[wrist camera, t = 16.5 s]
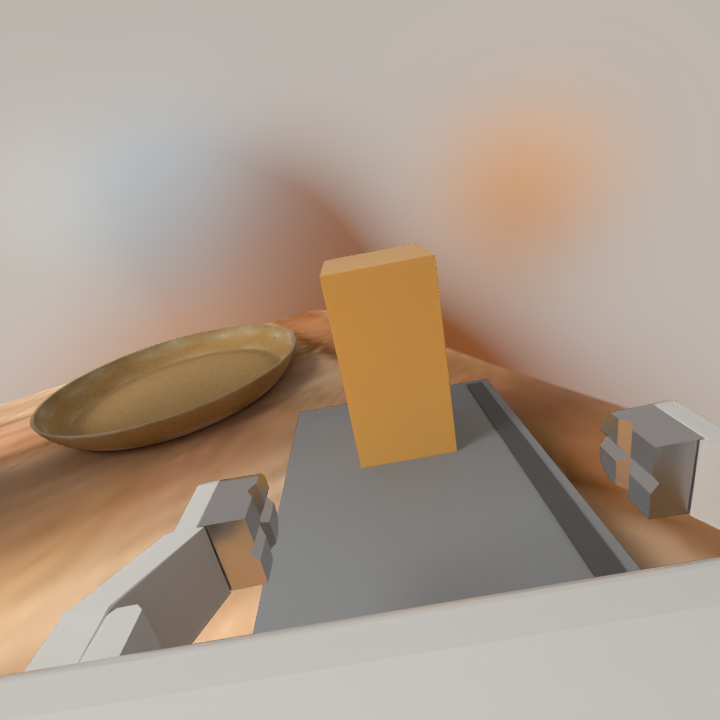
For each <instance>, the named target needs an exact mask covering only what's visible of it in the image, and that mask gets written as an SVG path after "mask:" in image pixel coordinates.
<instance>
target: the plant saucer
mask: <svg viewBox="0 0 720 720" xmlns="http://www.w3.org/2000/svg"><path fill="white" fill-rule="evenodd" d="M295 347H296V336H295V334H294V333H293V332H292V331H290V330H289V329H286V328H283V327H279V326H273V325H242V326H234V327H226V328H220V329H214V330H209V331H204V332H200V333H195V334H191V335H187V336H184V337H180V338H176V339H173V340H169V341H166V342H163V343H160V344H156V345H153V346H150V347H147V348H144V349H141V350H139V351H136V352H134V353H131V354H128V355H126V356H123V357H121V358H118V359H116V360H114V361H112V362H109V363H107V364H105V365H103V366H100V367H98V368H96V369H94V370H92V371H90V372H88V373H86V374H84V375H82V376H80V377H79V378H77V379H75V380H73V381H71V382H70V383H68V384H67V385H65V386H63V387H62V388H60V389H59V390H57V391H56V392H55V393H53V394H52V395H51V396H49V397H48V398H47V399H46V400H44V401H43V402H42V403H41V404H40V405H39V406H38V408H37V409H36V410H35V411H34V413H33V414H32V416H31V419H30V425H31V428H32V429H33V430H34V431H35V432H37V433H38V434H39V435H41V436H42V437H44V438H46V439H47V440H50V441H52V442H54V443H57V444H59V445H63V446H66V447H70V448H76V449H82V450H93V451H116V450H126V449H133V448H139V447H144V446H149V445H153V444H157V443H161V442H165V441H169V440H172V439H175V438H179V437H182V436H185V435H187V434H190V433H193V432H196V431H198V430H201V429H203V428H206V427H208V426H210V425H213V424H215V423H217V422H219V421H222V420H224V419H226V418H227V417H229V416H231V415H233V414H235V413H237V412H239V411H240V410H242V409H244V408H245V407H247V406H249V405H250V404H252V403H253V402H254V401H256V400H257V399H259V398H260V397H261V396H262V395H263V394H265V393H266V392H267V391H268V390H269V389H270V388H271V387H272V386H273V385H274V384H275V383H276V382H277V381H278V380H279V378H280V377H281V376H282V375H283V373H284V372H285V370H286V369H287V367H288V365H289V363H290V361H291V360H292V357H293V354H294V351H295Z"/></svg>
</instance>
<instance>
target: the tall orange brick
mask: <svg viewBox="0 0 720 720" xmlns="http://www.w3.org/2000/svg"><path fill="white" fill-rule="evenodd" d="M320 280H321V285H322V289H323V294H324V299H325V303H326V308H327V313H328V317H329V322H330V327H331V331H332V336H333V341H334V345H335V350H336V354H337V359H338V364H339V368H340V373H341V378H342V382H343V387H344V391H345V396H346V401H347V405H348V410H349V415H350V419H351V424H352V428H353V433H354V438H355V442H356V447H357V452H358V456H359V461H360V465H361V468H366V467H371V466H377V465H383V464H388V463H394V462H399V461H405V460H411V459H416V458H422V457H428V456H433V455H439V454H445V453H450V452H456V451H457V446H456V437H455V428H454V419H453V411H452V402H451V393H450V384H449V375H448V366H447V357H446V348H445V340H444V331H443V322H442V313H441V304H440V295H439V286H438V277H437V268H436V260H435V254H433V253H431V252H430V251H428V250H426V249H424V248H423V247H421V246H419V245H417V244H410V245H405V246H400V247H395V248H389V249H384V250H379V251H374V252H368V253H363V254H358V255H353V256H347V257H342V258H337V259H332V260H327V261H324V264H323V267H322V270H321V274H320Z"/></svg>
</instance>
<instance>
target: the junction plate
mask: <svg viewBox="0 0 720 720" xmlns="http://www.w3.org/2000/svg"><path fill="white" fill-rule="evenodd" d="M450 393H451V402H452V411H453V419H454V428H455V437H456V446H457V451H456V452H450V453H445V454H439V455H433V456H428V457H422V458H416V459H411V460H405V461H399V462H394V463H388V464H383V465H377V466H371V467H366V468H361V465H360V461H359V456H358V452H357V447H356V442H355V438H354V433H353V428H352V424H351V419H350V415H349V410H348V405H347V404H343V405H337V406H332V407H326V408H321V409H315V410H310V411H304V412H299V417H298V421H297V426H296V431H295V436H294V440H293V445H292V450H291V455H290V459H289V464H288V469H287V474H286V478H285V483H284V488H283V493H282V497H281V502H280V507H279V512H278V516H277V517H278V537H277V543H276V544H275V545H274V546H273V547H272V548H271V553H272V556H273V563H272V568H271V573H270V577H269V582H268V583H267V584H263V588H262V593H261V597H260V602H259V607H258V612H257V616H256V621H255V626H254V631H253V634H256V633H262V632H268V631H274V630H280V629H286V628H292V627H299V626H305V625H311V624H317V623H323V622H329V621H335V620H341V619H347V618H353V617H359V616H365V615H371V614H377V613H384V612H390V611H396V610H402V609H408V608H414V607H420V606H426V605H432V604H438V603H444V602H450V601H456V600H462V599H468V598H474V597H480V596H486V595H492V594H498V593H504V592H510V591H516V590H522V589H528V588H534V587H540V586H546V585H552V584H558V583H564V582H570V581H576V580H582V579H588V578H594V577H600V576H606V575H613V574H619V573H625V572H631V571H637V570H641V569H640V568H639V567H638V566H637V564H636V563H635V562H634V561H633V559H632V558H631V557H630V556H629V554H628V553H627V552H626V551H625V549H624V548H623V547H622V546H621V545H620V543H619V542H618V541H617V540H616V538H615V537H614V536H613V535H612V533H611V532H610V531H609V530H608V528H607V527H606V526H605V525H604V523H603V522H602V521H601V520H600V518H599V517H598V516H597V515H596V514H595V512H594V511H593V510H592V509H591V507H590V506H589V505H588V504H587V502H586V501H585V500H584V499H583V497H582V496H581V495H580V494H579V492H578V491H577V490H576V489H575V487H574V486H573V485H572V484H571V483H570V481H569V480H568V479H567V478H566V476H565V475H564V474H563V473H562V471H561V470H560V469H559V468H558V466H557V465H556V464H555V463H554V461H553V460H552V459H551V458H550V456H549V455H548V454H547V453H546V452H545V450H544V449H543V448H542V447H541V445H540V444H539V443H538V442H537V440H536V439H535V438H534V437H533V435H532V434H531V433H530V432H529V430H528V429H527V428H526V427H525V425H524V424H523V423H522V422H521V421H520V419H519V418H518V417H517V416H516V414H515V413H514V412H513V411H512V409H511V408H510V407H509V406H508V404H507V403H506V402H505V401H504V399H503V398H502V397H501V396H500V394H499V393H498V392H497V391H496V390H495V388H494V387H493V386H492V385H491V383H490V382H489V381H488V380H487V379H482V380H476V381H471V382H465V383H460V384H454V385H450Z"/></svg>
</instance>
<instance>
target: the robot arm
mask: <svg viewBox="0 0 720 720" xmlns="http://www.w3.org/2000/svg"><path fill="white" fill-rule="evenodd" d="M600 430H601V431H602V432H603V433H604V434H605V435H606V436H607V437H606V438H605V439H604V441H603V442H602V443H601V445H600V459H601V463H602V466H603V469H604V471H605V472H606V474H607V476H608V477H609V478H610V480H611V481H612V482H613V483H614V484H615V485H617V486H620V487H622V488H624V489H627V490H628V498H629V499H630V501H631V502H632V503H633V504H634V505H635V506H636V507H637V508H638V509H639V510H640V511H641V512H642V513H643V514H644V515H645V516H646V517H647V518H648V519H653V518H660V517H667V516H674V515H681V514H688V513H690V516H692V517H694V518H696V519H698V520H700V521H702V522H704V523H707V524H709V525H711V526H713V527H715V528H717V529H719V530H720V427H719V426H717V425H716V424H714V423H712V422H711V421H709V420H707V419H705V418H704V417H702V416H700V415H699V414H697V413H695V412H693V411H692V410H690V409H689V408H687V407H685V406H684V405H682V404H680V403H679V402H677V401H672V400H667V401H663V402H658V403H653V404H648V405H645V406H640V407H635V408H629V409H624V410H619V411H614V412H609V413H604V414H603V416H602V418H601V427H600ZM268 490H269V486H268V484H267V481H266V478H265V476H264V475H262V474H256V475H250V476H243V477H237V478H231V479H224V480H217V481H212V482H207V483H202V484H200V485H198V487H197V488H196V490H195V492H194V494H193V496H192V498H191V500H190V502H189V504H188V505H187V507H186V509H185V511H184V513H183V515H182V517H181V519H180V521H179V523H178V525H177V526H176V528H175V530H174V532H170V533H167V534H165V535H164V536H163V537H161V538H160V539H159V540H158V541H156V542H155V543H154V544H153V545H151V546H150V547H149V548H148V549H146V550H145V551H144V552H142V553H141V554H140V555H139V556H137V557H136V558H135V559H134V560H132V561H131V562H130V563H128V564H127V565H126V566H125V567H123V568H122V569H121V570H120V571H118V572H117V573H116V574H114V575H113V576H112V577H111V578H109V579H108V580H107V581H106V582H104V583H103V584H102V585H100V586H99V587H98V588H97V589H95V590H94V591H93V592H92V593H90V594H89V595H88V596H86V597H85V598H84V599H83V600H81V601H80V602H79V603H78V604H76V605H75V606H74V607H73V608H71V609H70V610H69V611H67V612H66V613H65V614H64V615H63V616H62V617H61V618H60V620H59V621H58V623H57V624H56V626H55V627H54V629H53V630H52V632H51V633H50V635H49V636H48V637H47V639H46V640H45V642H44V643H43V645H42V646H41V648H40V649H39V651H38V652H37V654H36V655H35V656H34V658H33V659H32V661H31V662H30V664H29V665H28V667H27V668H26V670H25V671H24V672H19V673H13V674H7V675H1V676H0V720H720V557H716V558H710V559H704V560H698V561H692V562H686V563H680V564H674V565H668V566H661V567H655V568H649V569H643V570H637V571H631V572H625V573H619V574H613V575H606V576H600V577H594V578H588V579H582V580H576V581H570V582H564V583H558V584H552V585H546V586H540V587H534V588H528V589H522V590H516V591H510V592H504V593H498V594H492V595H486V596H480V597H474V598H468V599H462V600H456V601H450V602H444V603H438V604H432V605H426V606H420V607H414V608H408V609H402V610H396V611H390V612H384V613H377V614H371V615H365V616H359V617H353V618H347V619H341V620H335V621H329V622H323V623H317V624H311V625H305V626H299V627H292V628H286V629H280V630H274V631H268V632H262V633H256V634H250V635H244V636H238V637H232V638H226V639H220V640H214V641H207V642H201V643H195V644H192V643H193V642H194V640H195V639H196V638H197V637H198V635H199V634H200V633H201V631H202V630H203V629H204V627H205V626H206V625H207V624H208V622H209V621H210V620H211V618H212V617H213V616H214V614H215V613H216V612H217V610H218V609H219V608H220V607H221V605H222V604H223V603H224V601H225V600H226V599H227V597H228V596H229V595H230V594H231V591H232V590H237V589H242V588H247V587H252V586H257V585H262V584H267V583H268V582H269V577H270V573H271V568H272V563H273V556H272V553H271V548H272V547H273V546H274V545H275V544H276V543H277V537H278V517H277V512H276V508H275V505H274V502H272V501H271V500H269V499H268V498H267V494H268Z"/></svg>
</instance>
